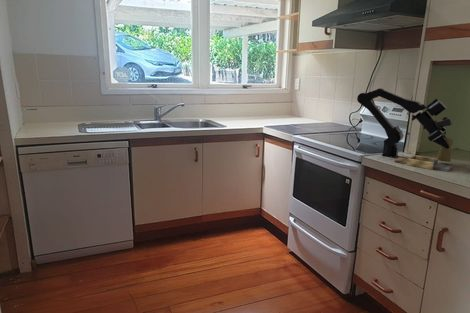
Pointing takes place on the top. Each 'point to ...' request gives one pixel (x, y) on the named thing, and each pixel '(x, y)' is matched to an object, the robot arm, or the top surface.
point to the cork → (445, 151)
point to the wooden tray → (423, 163)
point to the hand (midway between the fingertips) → (449, 147)
